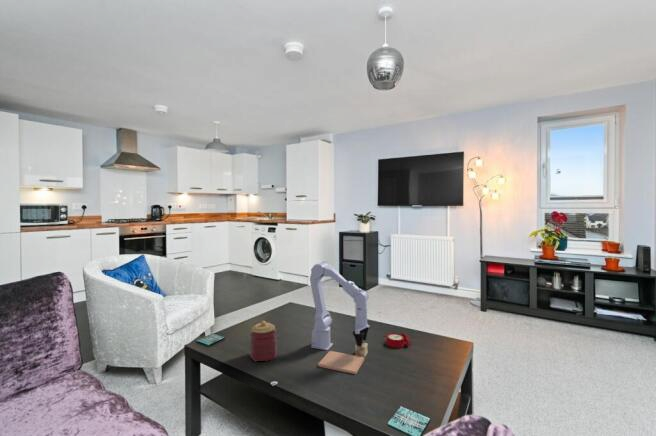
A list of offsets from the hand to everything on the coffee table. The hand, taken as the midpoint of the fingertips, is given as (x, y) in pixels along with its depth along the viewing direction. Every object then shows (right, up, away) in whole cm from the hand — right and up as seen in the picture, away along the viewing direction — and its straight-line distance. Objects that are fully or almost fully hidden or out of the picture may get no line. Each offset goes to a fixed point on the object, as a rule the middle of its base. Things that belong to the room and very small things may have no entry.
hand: (361, 342), depth 154 cm
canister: (-48, -6, -1) cm, 49 cm away
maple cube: (0, -6, 0) cm, 6 cm away
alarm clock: (+21, -6, +12) cm, 25 cm away
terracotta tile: (-10, -6, -9) cm, 15 cm away
